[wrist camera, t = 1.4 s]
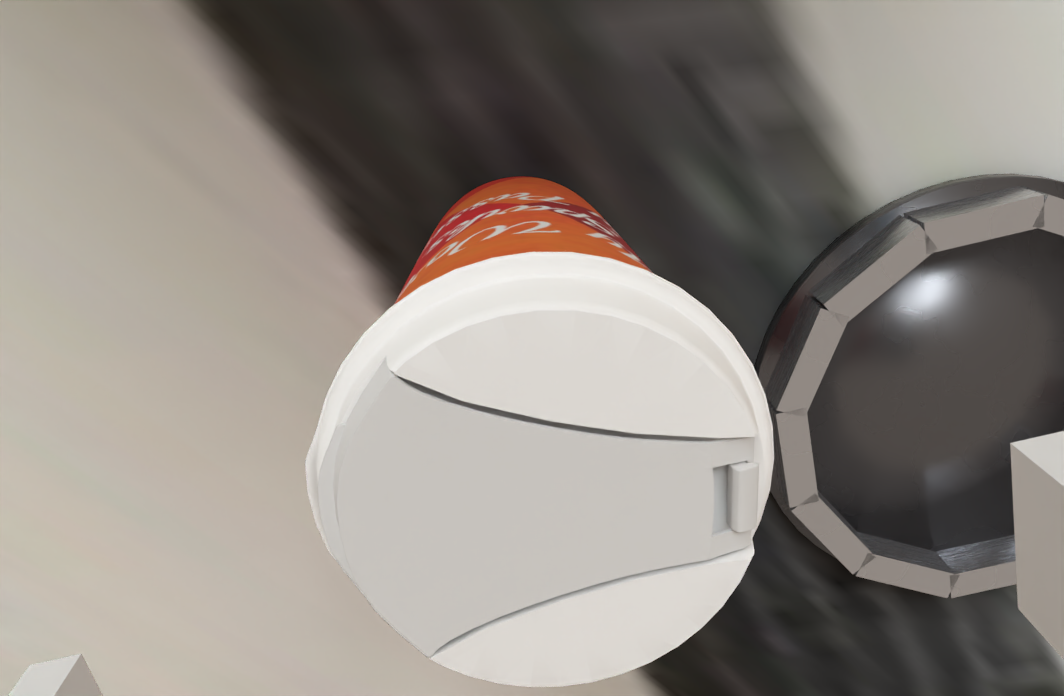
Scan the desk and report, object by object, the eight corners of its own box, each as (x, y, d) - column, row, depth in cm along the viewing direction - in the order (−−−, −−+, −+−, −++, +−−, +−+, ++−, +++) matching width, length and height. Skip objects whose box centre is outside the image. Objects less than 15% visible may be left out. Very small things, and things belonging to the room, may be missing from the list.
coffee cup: (646, 128, 27) (812, 256, 13) (649, 375, 30) (788, 694, 16) (372, 147, 27) (246, 297, 13) (403, 393, 30) (328, 731, 16)
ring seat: (719, 235, 28) (734, 251, 27) (1186, 124, 28) (1236, 132, 26) (778, 608, 34) (795, 643, 32) (1172, 522, 33) (1212, 552, 31)
